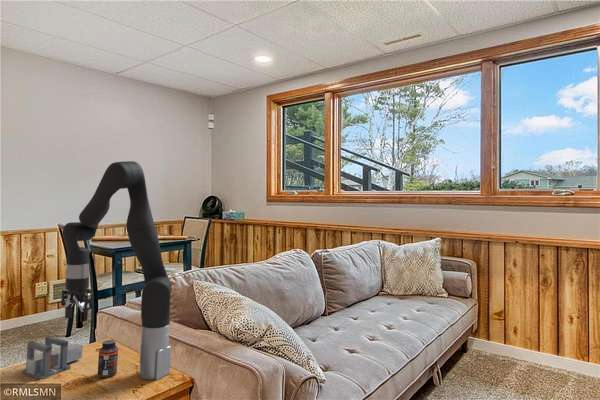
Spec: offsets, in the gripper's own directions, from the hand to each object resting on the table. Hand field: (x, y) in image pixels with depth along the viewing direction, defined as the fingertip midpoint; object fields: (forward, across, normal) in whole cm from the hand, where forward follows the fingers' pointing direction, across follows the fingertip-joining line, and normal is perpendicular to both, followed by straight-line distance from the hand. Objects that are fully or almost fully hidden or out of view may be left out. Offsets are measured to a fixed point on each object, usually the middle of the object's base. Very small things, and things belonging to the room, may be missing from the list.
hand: (76, 319), depth 140 cm
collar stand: (+15, 0, -10) cm, 18 cm away
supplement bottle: (+15, +20, -2) cm, 25 cm away
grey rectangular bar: (+14, 0, -7) cm, 16 cm away
